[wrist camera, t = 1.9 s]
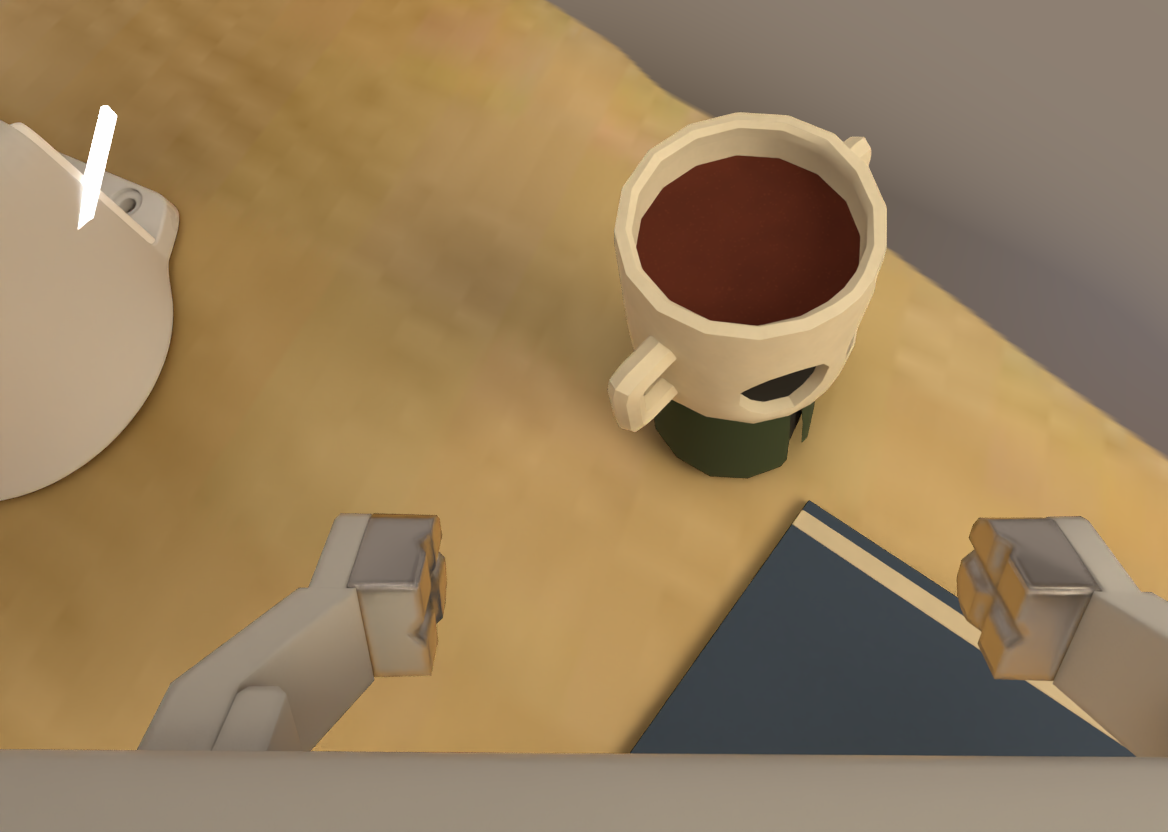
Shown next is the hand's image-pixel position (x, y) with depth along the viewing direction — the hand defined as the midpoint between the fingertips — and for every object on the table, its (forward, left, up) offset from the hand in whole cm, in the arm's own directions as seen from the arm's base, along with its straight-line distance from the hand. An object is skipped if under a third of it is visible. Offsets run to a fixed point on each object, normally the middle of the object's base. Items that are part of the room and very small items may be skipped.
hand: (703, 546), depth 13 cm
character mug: (-5, +9, -19) cm, 22 cm away
